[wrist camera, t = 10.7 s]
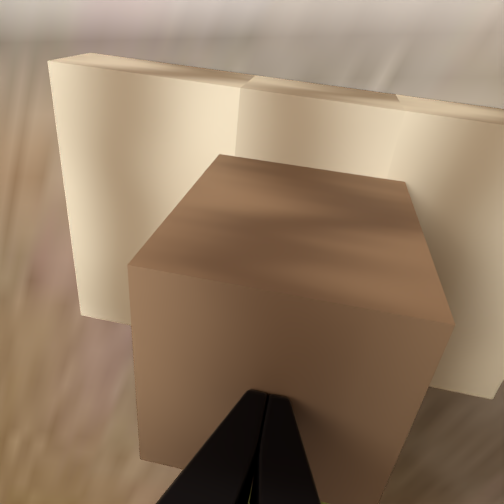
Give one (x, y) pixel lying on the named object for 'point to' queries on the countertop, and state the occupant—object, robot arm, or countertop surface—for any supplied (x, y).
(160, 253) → the walnut peg
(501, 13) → the countertop surface
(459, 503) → the countertop surface
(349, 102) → the birch board
